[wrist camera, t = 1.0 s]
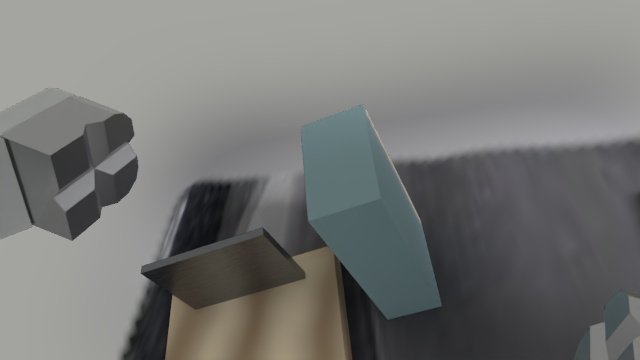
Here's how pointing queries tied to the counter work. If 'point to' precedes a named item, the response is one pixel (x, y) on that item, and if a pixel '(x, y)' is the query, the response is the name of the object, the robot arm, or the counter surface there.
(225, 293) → the bookend
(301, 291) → the shelf board
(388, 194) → the tall teal pillar
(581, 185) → the counter surface
